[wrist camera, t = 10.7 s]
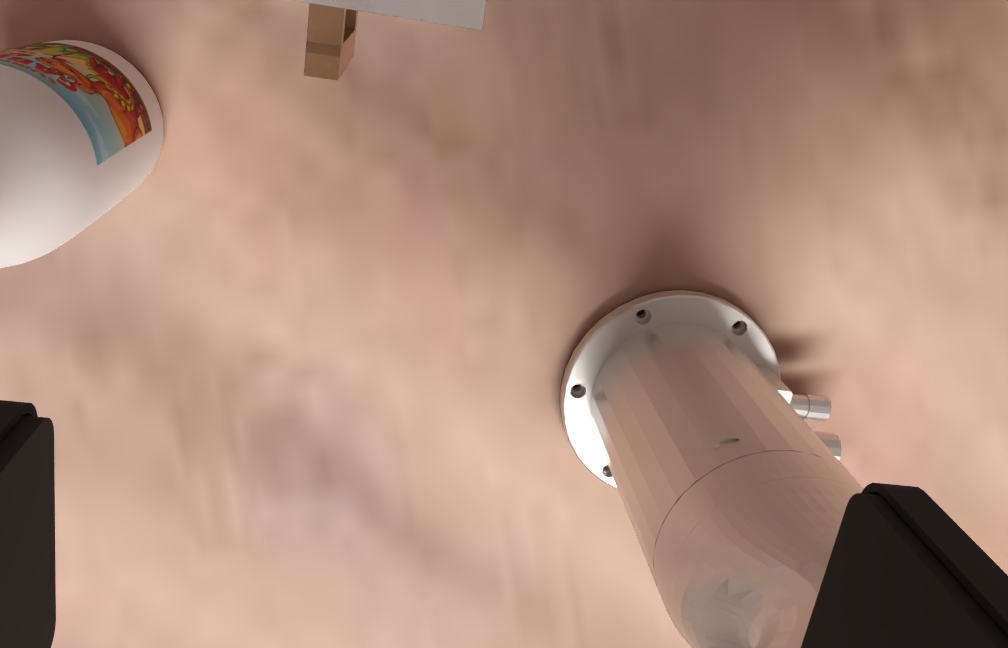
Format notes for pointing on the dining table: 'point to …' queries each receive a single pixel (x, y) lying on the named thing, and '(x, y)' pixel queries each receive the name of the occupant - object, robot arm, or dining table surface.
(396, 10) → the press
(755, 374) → the robot arm
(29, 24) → the dining table surface
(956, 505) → the dining table surface
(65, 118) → the milk bottle
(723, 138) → the dining table surface
